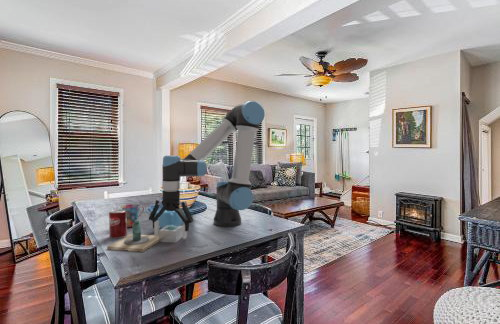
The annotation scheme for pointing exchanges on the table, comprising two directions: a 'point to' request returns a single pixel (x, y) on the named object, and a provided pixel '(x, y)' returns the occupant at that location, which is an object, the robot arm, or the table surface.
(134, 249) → the peg stand
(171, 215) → the teapot
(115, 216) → the soda can
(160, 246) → the table surface
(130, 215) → the mug
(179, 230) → the white square bowl
